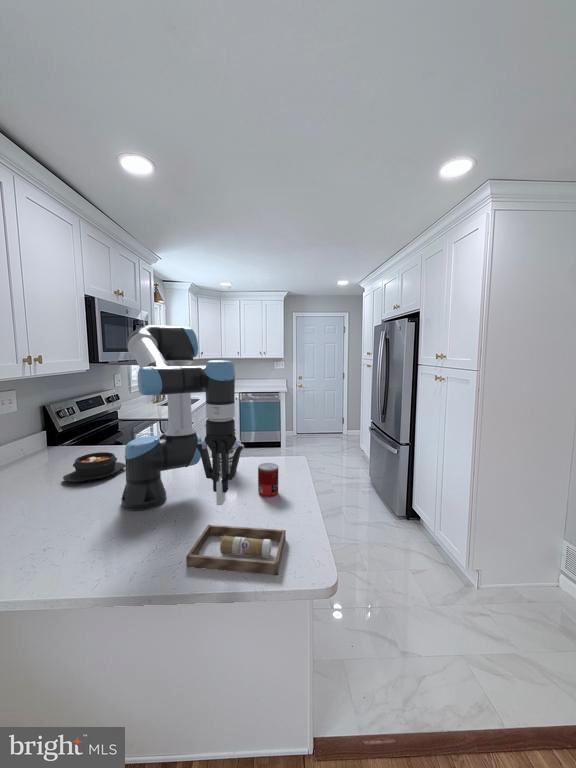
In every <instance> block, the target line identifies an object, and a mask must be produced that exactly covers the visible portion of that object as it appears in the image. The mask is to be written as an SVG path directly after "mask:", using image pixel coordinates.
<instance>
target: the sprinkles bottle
mask: <svg viewBox="0 0 576 768" xmlns="http://www.w3.org/2000/svg"><path fill="white" fill-rule="evenodd" d="M219 545H220V546H219V552H220V553H221V554H229V555H238V556H245V557H247V556H248V557H260V558H263V559H269V558H270V556H271V552H272V540H270V539H252V538H244V537H231V536H223V537H222V538H221V540H220V544H219Z"/></svg>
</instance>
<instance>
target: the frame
mask: <svg viewBox="0 0 576 768" xmlns="http://www.w3.org/2000/svg"><path fill="white" fill-rule="evenodd" d="M286 531H287V530H285V529H275V528H274V529H273V528H260V527H248V526H247V527H246V526H245V527H244V526H234V525H232V526H230V525H220V524H218V525H217V524H207V525H206V527H205V528H204V530H203V532H202V533H201V534H200V536H199V537H198V539H197V540H196V541H195V543H194V544H193V546H192V547H191V549H190V550H189V551H188V553H187V554H186V558H185V562H186V568H190V567H194V568H193V569H201V568H205V569H204V570H212V569H217V571H224V570H226V571H225V572H235V571H236V573H249V574H257V573H258V574H260V575H269V576H278V575H279V570H280V566H281V562H282V557H283V553H284V549H285V543H286V535H287V534H286ZM210 536H212V537H220V536H231V537H244V538H252V539H270V540H271V541H273V542H274V541H275V542H279V544H278V546H277V547H278V548H277V551H276V556H275V558H274V559H275V560H261V559H259V560H258V559H249V558H237V557H235V558H234V557H227V556H226V557H225V556H213V555H202V554H201V555H200V554H199V553H200V552H201V550H202V549H203V548H204V546H205V544H206V543H207V541H208V540H209V538H210Z"/></svg>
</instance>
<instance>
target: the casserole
mask: <svg viewBox="0 0 576 768" xmlns="http://www.w3.org/2000/svg"><path fill="white" fill-rule="evenodd" d="M117 460H118V458H117V457H116V455H115V454H114V453H113V452H101V451H99V452H93V453H92V452H91V453H87V454H85V455H81V456H79V457H77V458H75V461H74V463H72V466H73V468H74V469H75V470H74V471H72V472H70V473H68V474H64V476H63V477H62V479H63V480H64V481H65V482H71V483H78V482H84V481H94V480H101V479H103V478H107V477H108V476H111V475H114V474H115V473H117V472H119V471H121V470H123V469H126V463H123V462H119V461H117Z"/></svg>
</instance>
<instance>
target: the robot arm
mask: <svg viewBox="0 0 576 768" xmlns="http://www.w3.org/2000/svg"><path fill="white" fill-rule="evenodd" d="M126 340H127V341H126V348H127V350H128V353H129V354H130V356H131V357H133V359H135V361H136V363H137V365H138V367H139V369H138V370H137V388H138V391H139V392H138V393H140V395H142V396H163V395H167V396H166V397H167V420H168V421H167V423H168V429H167V430H166V432H164V438H161V439H160V437H159V436H158V435H146V436H140V437H138V438H134V439H132V440H130V441H129V442H128V443H126V445H125V447H124V457H123V458H124V459H125V460H124V461H125V465H126V467H125V486H124V489H123V492H122V496H121V507H122V508H123V509H125V510H129V511H145V510H148V509H152V508H155V507H157V506H160V505H161V504H163V503H165V501H166V499H167V490H166V488H165V485H164V483H163V481H162V479H161V478H162V477H161V476H162V475H161V472H164V471H169V470H176V469H179V468H180V469H182V468H188V467H192V466H195V465H197V464H198V463H199V462H200V461H202V465H203V466H202V467H203V471H204V475H205V478H206V479H210V480H212V491H213V493H216V506H223V505H224V503H225V502H226V493H227V492H228V490H229V481H231V480H232V481H233V479H234V478H235V476H236V473H237V468H238V466H239V460H240V457H241V453H242V451H243V450H244V448H245V446H246V445H245V444H244V443H241V442H239V441H237V437H236V434H235V433H236V427H235V424H236V423H235V421H236V420H235V419H234V418H235V414H236V411H235V410H236V409H235V406H236V405H235V396H236V395H235V386H236V385H235V384H236V383H235V381H236V379H235V378H236V373H235V363H234V362H233V361H232V360H223V359H222V360H219V359H217V360H216V359H215V360H208V361H206V363H205V364H202V365H191V364H192V363H194V358H195V357H198V355H199V343H198V342H199V341H198V338H197V335H196V332H195V331H194V329H193V328H191V327H188V326H182V325H178V326H177V325H157V324H148V325H144V326H141V327H138V328H136V329H135V330H134V331H132V332H131V333H130V335H129V336H128V338H127V339H126ZM193 393H195V394H197V393H205V417H206V420H205V434H206V435H205V437H204V440H203V439H202V437H201V436H200V435H199V434H197V430H196V429H195V428H193V424H192V423H193V422H192V420H193V419H192V417H193V416H192V396H191V395H192V394H193ZM233 445H234V456H233V460H232V464H231V469H230V473H229V451H230V449H231V448H232V447H233ZM208 449H210V451H211V457H212V459H210V455H209V450H208ZM220 453H221V457H222V473H220ZM211 460H212V461H211Z"/></svg>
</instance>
